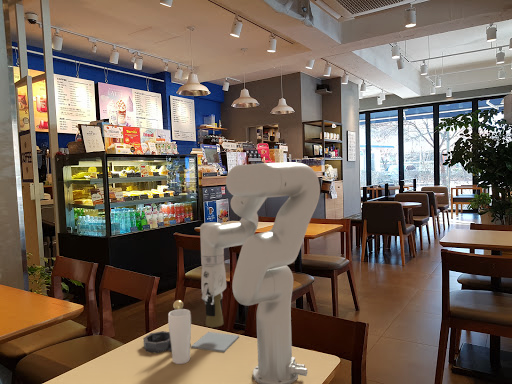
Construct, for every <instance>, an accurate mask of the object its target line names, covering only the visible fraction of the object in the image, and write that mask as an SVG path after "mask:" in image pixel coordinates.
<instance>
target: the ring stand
mask: <svg viewBox="0 0 512 384" xmlns="http://www.w3.org/2000/svg"><path fill="white" fill-rule="evenodd" d="M172 306H173V309H174V310H178V309H184V308H183V307H184V302H183V301H182V300H180V299H177V300H175V301H174V302H173V305H172ZM191 346H192V344H191V343H190V348H191ZM143 348H144V350H145V352H147V353H153V354H158V353H162V352H163V353H164V352H169V353H170V352H171V353H172V348H171V341H170V333H169V331H164V330H163V331H162V330H161V331H156V332H151V333H149V334H148V335H145V336H144V337H143Z"/></svg>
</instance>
